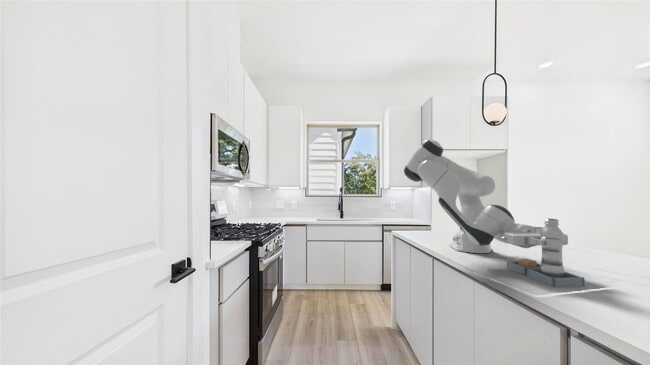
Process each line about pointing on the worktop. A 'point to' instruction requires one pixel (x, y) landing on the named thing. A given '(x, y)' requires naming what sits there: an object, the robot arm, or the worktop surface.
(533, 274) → the tray
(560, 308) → the worktop surface
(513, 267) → the blue-gray square tray
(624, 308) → the worktop surface
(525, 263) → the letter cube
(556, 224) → the plastic bottle
